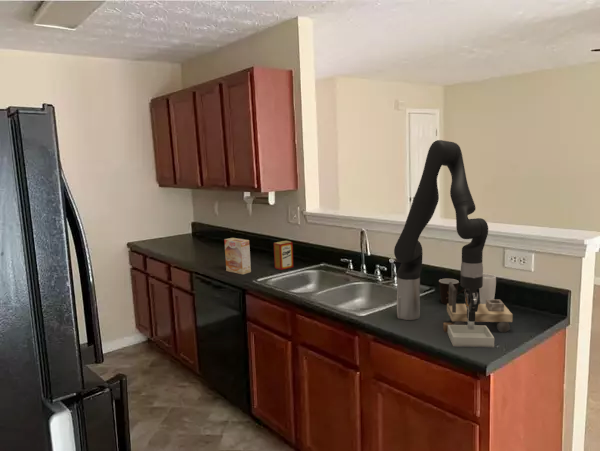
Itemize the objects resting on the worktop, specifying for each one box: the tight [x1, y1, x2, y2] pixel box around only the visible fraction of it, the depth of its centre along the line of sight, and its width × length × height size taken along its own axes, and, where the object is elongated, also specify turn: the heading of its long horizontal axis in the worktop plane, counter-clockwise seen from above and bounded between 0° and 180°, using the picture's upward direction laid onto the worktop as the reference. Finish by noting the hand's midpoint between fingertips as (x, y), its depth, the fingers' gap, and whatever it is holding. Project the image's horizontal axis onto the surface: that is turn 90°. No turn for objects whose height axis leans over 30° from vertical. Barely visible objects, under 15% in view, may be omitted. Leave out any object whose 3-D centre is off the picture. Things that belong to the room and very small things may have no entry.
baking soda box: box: [273, 240, 294, 271], centre depth 292 cm, size 10×6×16 cm
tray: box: [446, 324, 495, 348], centre depth 176 cm, size 14×12×4 cm
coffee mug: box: [438, 278, 466, 305], centre depth 217 cm, size 12×9×10 cm
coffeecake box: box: [223, 237, 252, 275], centre depth 286 cm, size 15×7×20 cm, turn 49°
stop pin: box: [466, 300, 476, 330], centre depth 175 cm, size 4×4×10 cm
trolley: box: [446, 282, 514, 334], centre depth 188 cm, size 22×12×17 cm, turn 82°
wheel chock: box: [442, 322, 454, 333], centre depth 186 cm, size 4×3×3 cm
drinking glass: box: [478, 273, 497, 304], centre depth 207 cm, size 7×7×15 cm
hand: (470, 319), depth 175 cm, fingers closed on stop pin, 2 cm apart
